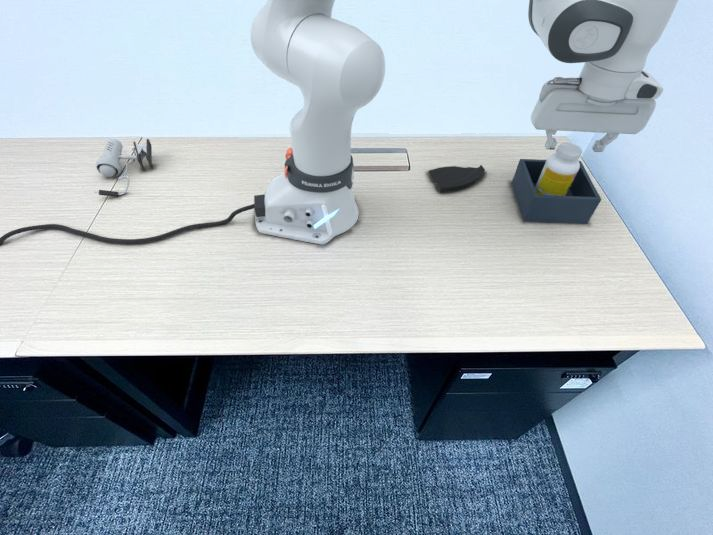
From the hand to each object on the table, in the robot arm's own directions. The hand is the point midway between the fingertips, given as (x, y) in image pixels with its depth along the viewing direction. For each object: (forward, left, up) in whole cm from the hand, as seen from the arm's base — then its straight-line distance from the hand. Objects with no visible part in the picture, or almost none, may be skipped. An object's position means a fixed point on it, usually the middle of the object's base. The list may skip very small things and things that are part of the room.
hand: (572, 149), depth 80 cm
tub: (0, +1, -14) cm, 14 cm away
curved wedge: (-20, +8, -14) cm, 26 cm away
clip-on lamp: (-100, +5, -14) cm, 101 cm away
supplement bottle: (0, +1, -14) cm, 14 cm away
